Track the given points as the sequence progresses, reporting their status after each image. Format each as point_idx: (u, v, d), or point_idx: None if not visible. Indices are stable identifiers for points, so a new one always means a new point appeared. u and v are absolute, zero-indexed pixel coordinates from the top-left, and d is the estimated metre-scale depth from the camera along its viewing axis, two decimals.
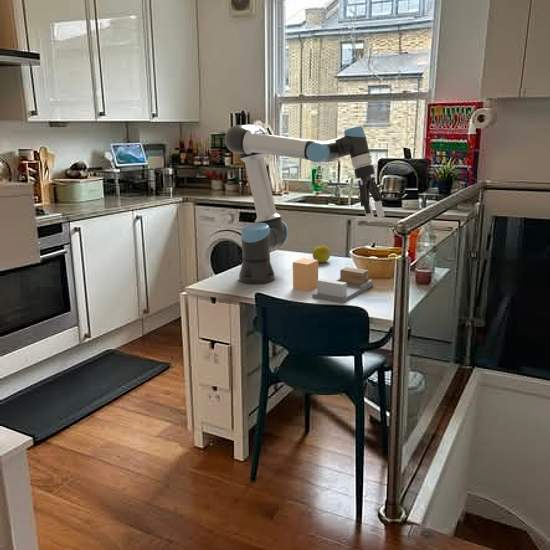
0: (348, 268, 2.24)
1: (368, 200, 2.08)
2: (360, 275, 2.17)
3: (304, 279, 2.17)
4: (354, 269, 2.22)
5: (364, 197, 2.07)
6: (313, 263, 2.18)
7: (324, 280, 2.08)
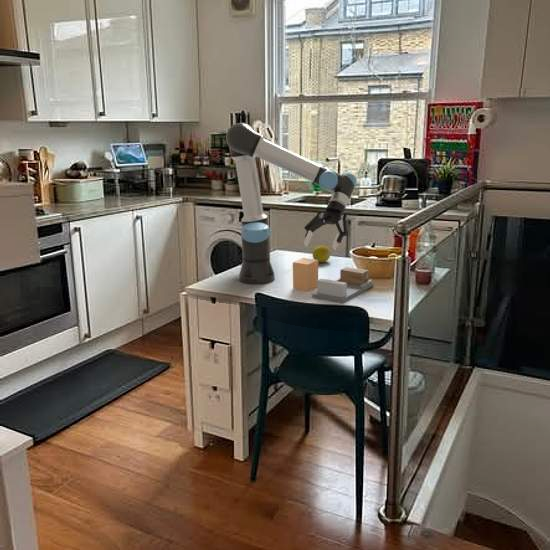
0: (348, 268, 2.24)
1: None
2: (360, 275, 2.17)
3: (304, 279, 2.17)
4: (354, 269, 2.22)
5: (347, 230, 2.25)
6: (313, 263, 2.18)
7: (324, 280, 2.08)
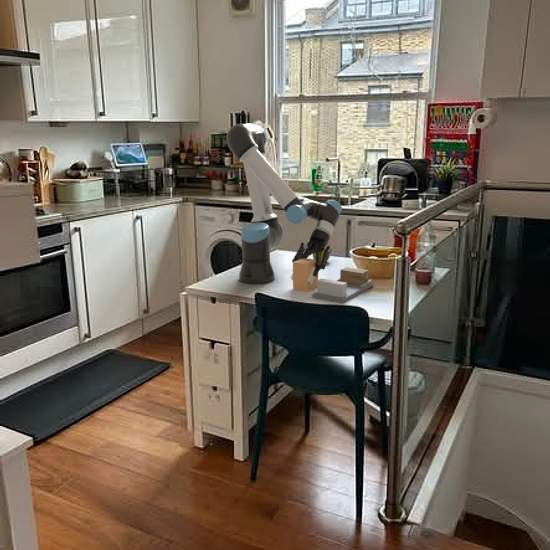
0: (348, 268, 2.24)
1: None
2: (360, 275, 2.17)
3: (304, 279, 2.17)
4: (354, 269, 2.22)
5: (325, 263, 2.19)
6: (313, 263, 2.18)
7: (324, 280, 2.08)
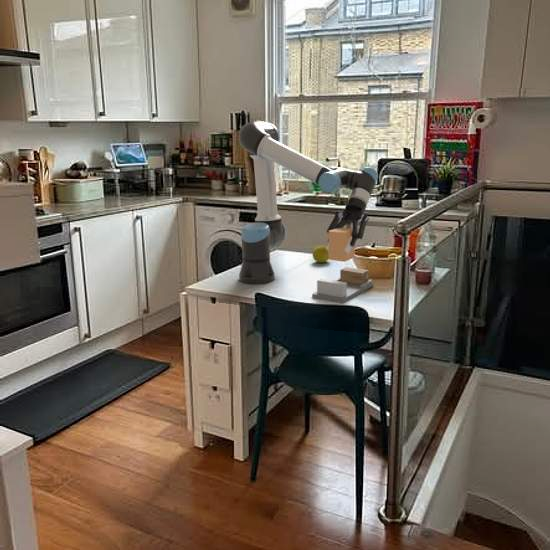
0: (348, 268, 2.24)
1: None
2: (360, 275, 2.17)
3: (340, 248, 2.05)
4: (354, 269, 2.22)
5: (362, 233, 2.07)
6: (350, 232, 2.06)
7: (324, 280, 2.08)
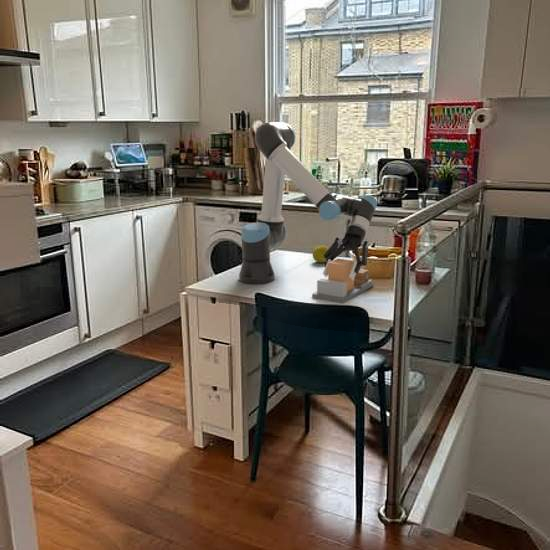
0: None
1: None
2: (360, 275, 2.17)
3: (340, 280, 2.09)
4: None
5: (366, 259, 2.09)
6: (349, 264, 2.09)
7: (324, 280, 2.08)
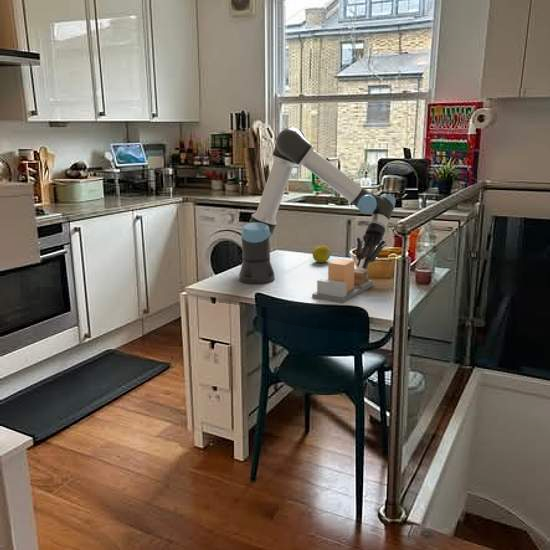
0: None
1: None
2: (360, 275, 2.17)
3: (340, 280, 2.09)
4: (354, 269, 2.22)
5: (375, 257, 2.26)
6: (349, 264, 2.09)
7: (324, 280, 2.08)
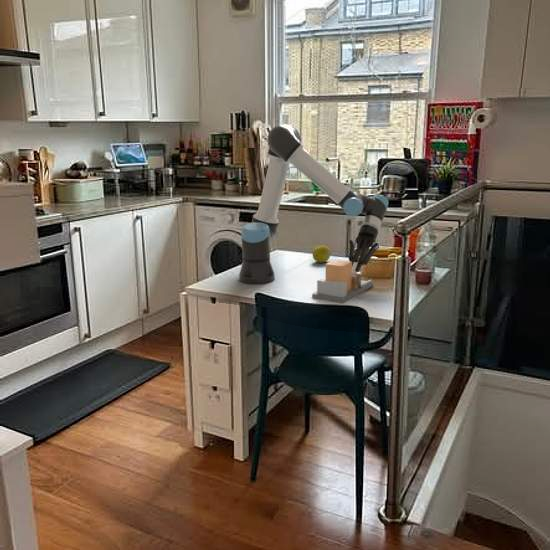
0: None
1: None
2: (353, 279, 2.12)
3: None
4: None
5: (368, 260, 2.21)
6: (347, 265, 2.08)
7: (324, 280, 2.08)
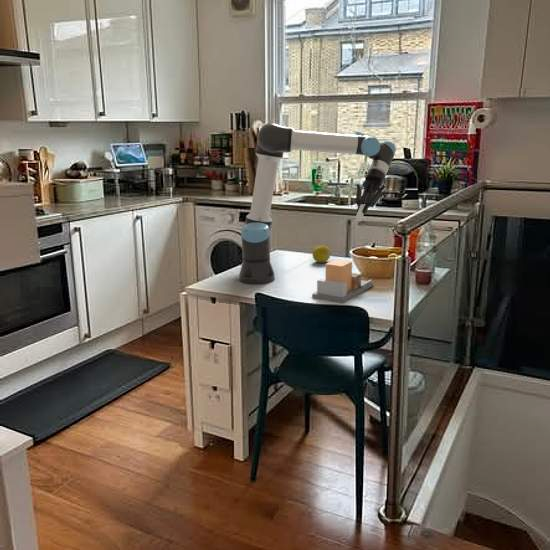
0: None
1: None
2: (353, 279, 2.12)
3: None
4: None
5: (375, 202, 2.24)
6: (347, 265, 2.08)
7: (324, 280, 2.08)
